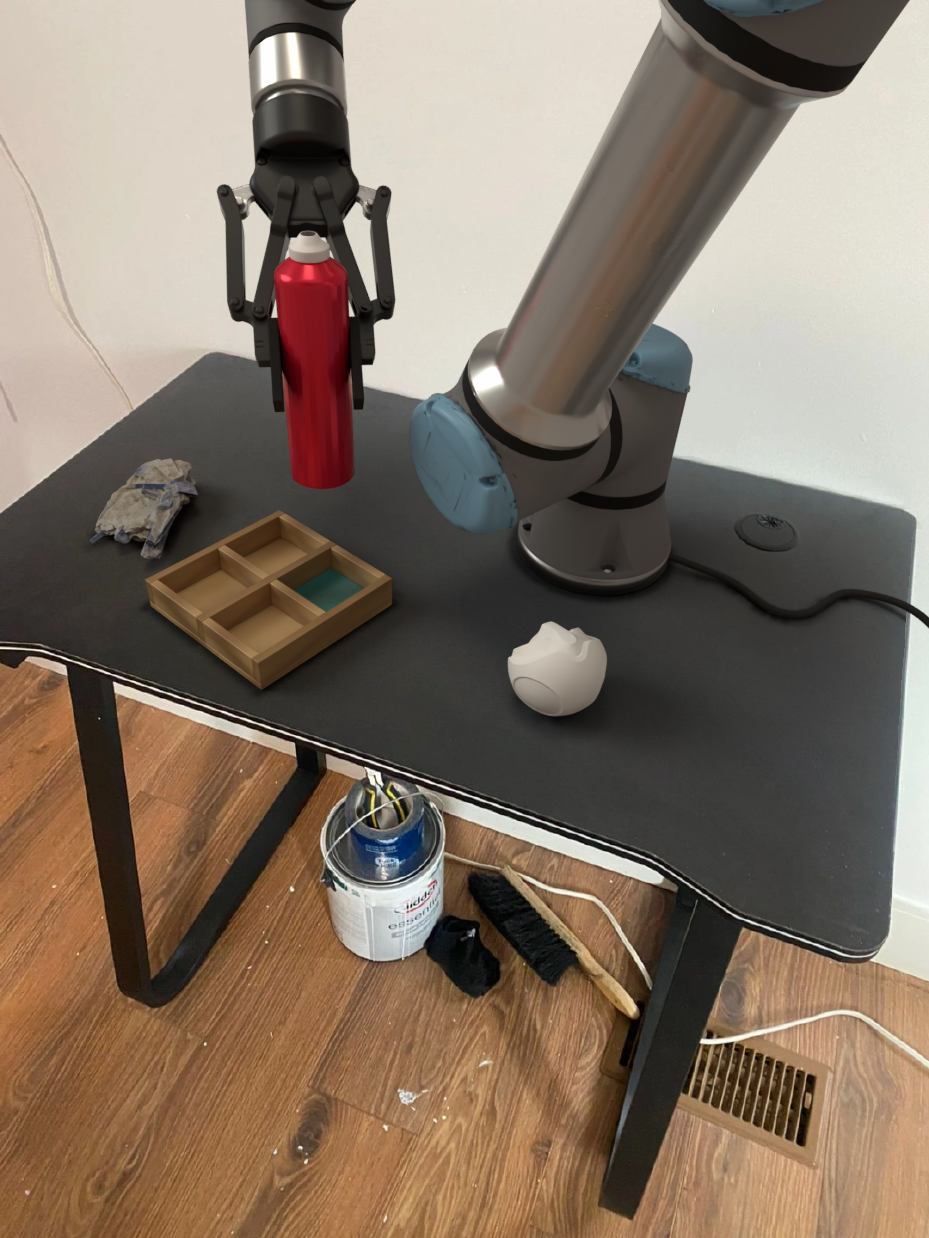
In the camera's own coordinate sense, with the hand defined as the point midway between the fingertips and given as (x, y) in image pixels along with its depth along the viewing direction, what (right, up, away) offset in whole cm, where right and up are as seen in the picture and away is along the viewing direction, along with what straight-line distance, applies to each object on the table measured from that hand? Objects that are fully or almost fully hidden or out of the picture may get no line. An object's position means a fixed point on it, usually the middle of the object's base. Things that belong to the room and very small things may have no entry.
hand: (319, 405), depth 71 cm
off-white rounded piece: (+19, -24, +5) cm, 31 cm away
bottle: (-1, -4, +8) cm, 9 cm away
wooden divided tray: (-6, -15, +13) cm, 21 cm away
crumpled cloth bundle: (-20, -7, +22) cm, 31 cm away
